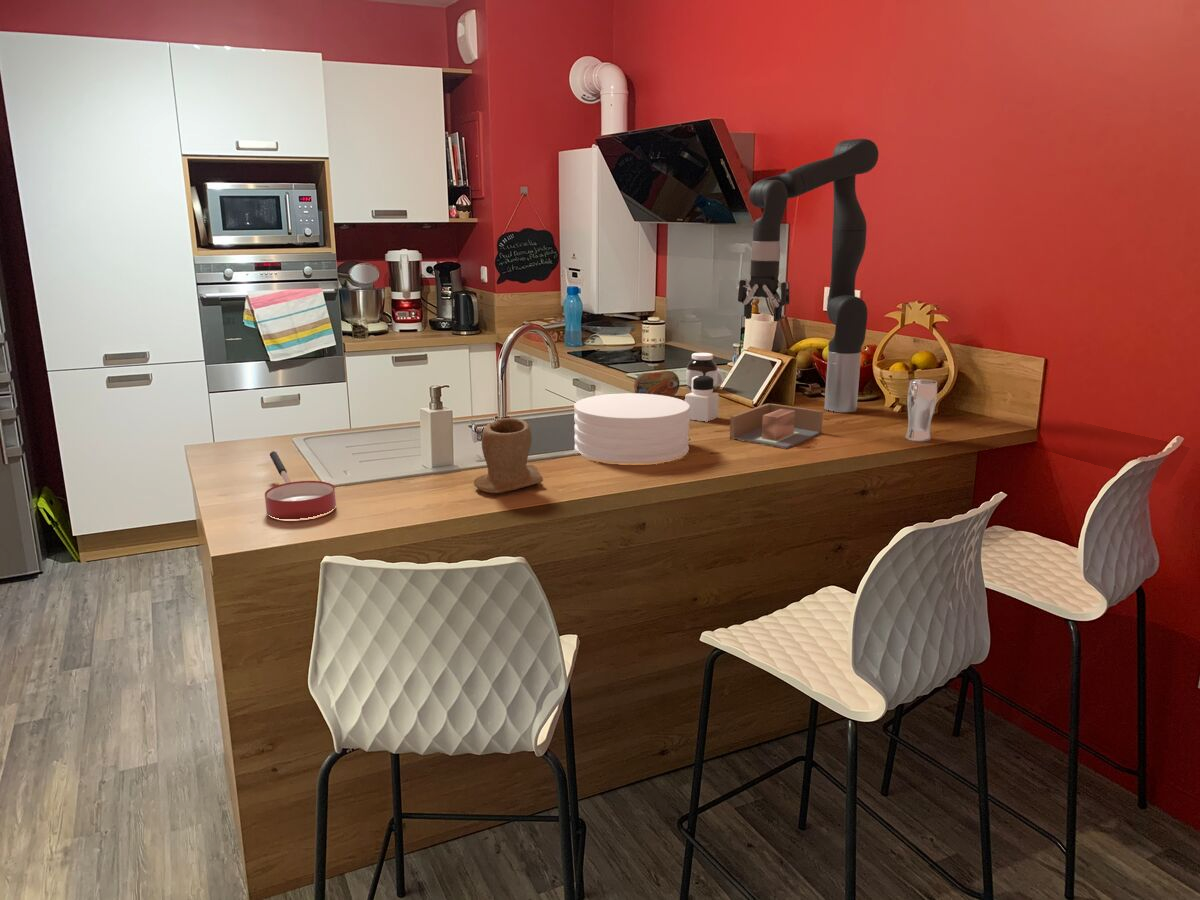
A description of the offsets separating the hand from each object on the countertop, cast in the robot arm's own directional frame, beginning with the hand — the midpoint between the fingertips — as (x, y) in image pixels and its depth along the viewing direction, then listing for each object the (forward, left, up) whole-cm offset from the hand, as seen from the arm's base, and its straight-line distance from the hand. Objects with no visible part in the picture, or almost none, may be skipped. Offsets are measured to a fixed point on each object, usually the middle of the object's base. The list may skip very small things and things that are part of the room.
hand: (762, 319), depth 243 cm
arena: (+12, +12, -28) cm, 33 cm away
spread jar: (-30, -36, -28) cm, 55 cm away
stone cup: (+87, -11, -28) cm, 92 cm away
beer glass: (-8, +42, -28) cm, 51 cm away
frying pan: (+121, -42, -28) cm, 131 cm away
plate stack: (+46, -10, -28) cm, 55 cm away
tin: (-8, -40, -28) cm, 50 cm away
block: (+14, +13, -27) cm, 34 cm away
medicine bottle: (+7, -14, -28) cm, 32 cm away
